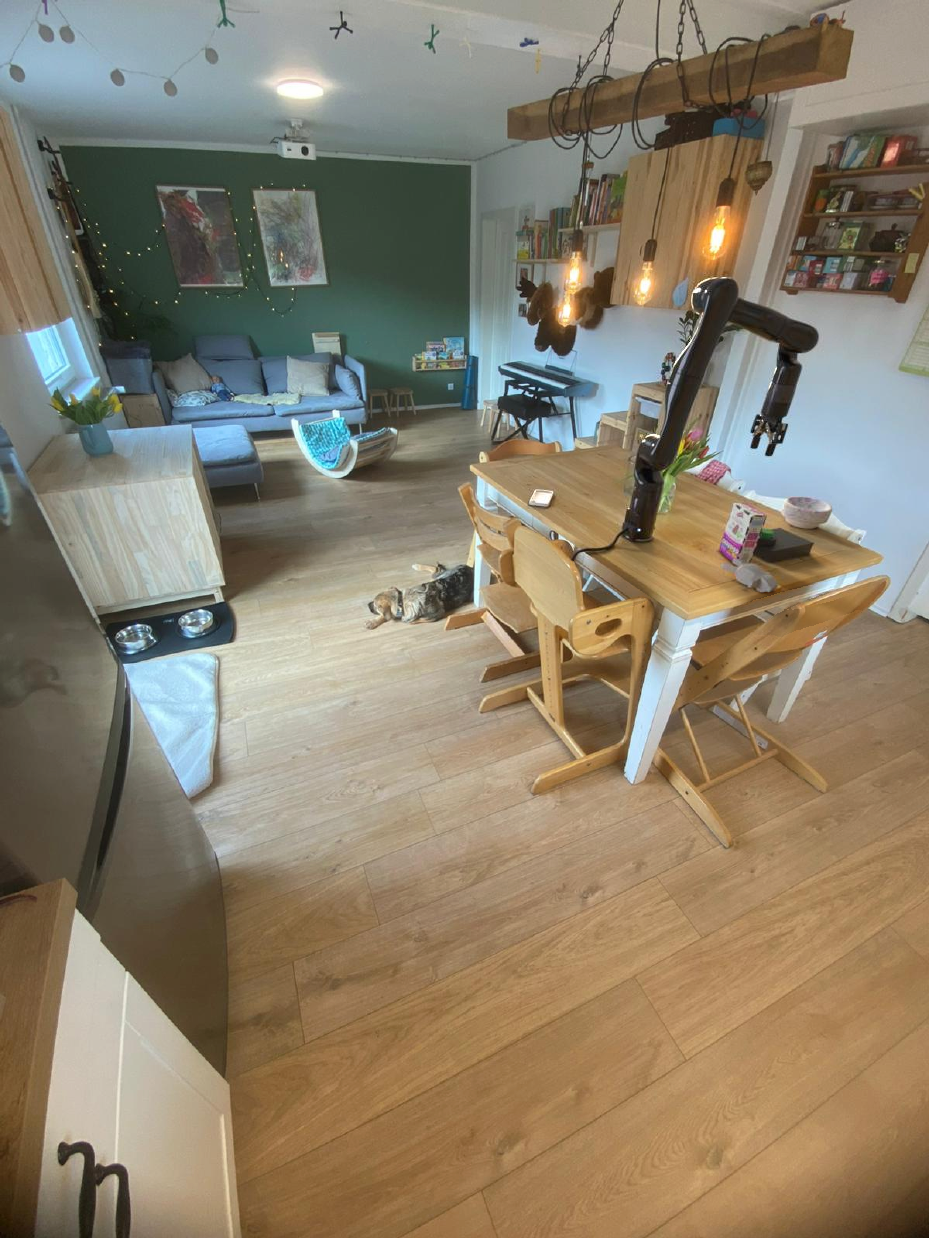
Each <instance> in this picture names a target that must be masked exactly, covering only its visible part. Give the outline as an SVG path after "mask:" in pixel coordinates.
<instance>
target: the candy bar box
mask: <svg viewBox="0 0 929 1238" xmlns="http://www.w3.org/2000/svg"><path fill="white" fill-rule="evenodd" d="M767 518H768V515H766V514H765V513H763V512H762V511H760V510H759V509H757V508H755V507H754V506H753V505H751V504H750V503H748V502H733V504H732V507H731V511H730V513H729V517H728V520H727V523H726V526H725V529H724V532H723V534H722V535H723V536H722V539H721V542H720V545H719V548H718V551H719V552H720V554H722V555H723V557H725V558H726V559H727V560H729V561H730V563H732V564H734V563H733V559H738V560H740V561H741V563H742V564H749V563H752V558H753V557H754V555H753V554H754V551H755V548H756V545H757V542H758V539H759V537H760V534H761V531H762V529H764V526H765V522H766V521H767Z"/></svg>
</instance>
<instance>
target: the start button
mask: <svg viewBox="0 0 929 1238" xmlns="http://www.w3.org/2000/svg"><path fill="white" fill-rule="evenodd" d="M773 534H774V531H772V530H771V529H769V528H763V529H762V531H761V534H760V537H762V538H766V539H772V536H773Z"/></svg>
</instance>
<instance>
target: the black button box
mask: <svg viewBox="0 0 929 1238" xmlns="http://www.w3.org/2000/svg"><path fill="white" fill-rule="evenodd" d="M770 530H772V531H774V534H773V536H772V539H766V538H762V537H759V539H758V542H757V545H756V548H755V551H754V554H753V556H755V557H757V558H760V559H761V560H763V561H765V562H767V563H773V562H778V561H784V560H787V559H793V558H797V557H802V556H807V555H810V553H811V551H812V548H813V546H814V544H815V543H814V542H813V541H810V540H809V539H806V538H804V537H802V536H800V535H797V534H795V533H793V532H790V531H789V530H787V529H784V528H781V527H777V528H776V527H775V528H772V529H770Z"/></svg>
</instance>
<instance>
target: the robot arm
mask: <svg viewBox="0 0 929 1238" xmlns="http://www.w3.org/2000/svg"><path fill="white" fill-rule="evenodd" d="M739 288H740V287H739V284H738V283H737V281H736V280H735V279H734V278H731V277H710V278H707V279H704V280H703V281H701V282H700V283H698V284H697V286H696V287H695V288H694V290H693V292H692V294H691V306H692V309H693V311H694V312H695V313H696V314H698V315H699V316H700V317H701V318H700V319H699V323H698V326H697V329H696V331H695V333H694V335H693V337H692V339H691V340H690V342H689V343H688V345H687V346H686V347H685V349H684V350H683V351H682V352H681V354H680V355H679V357H678V358H677V359H676V361H675V363H674V364H673V367H672V369H671V372H670V374H669V378H668V380H667V383H666V386H665V390H664V419H663V425H662V428H661V430H660V433H659V434H654V433H653V434H649V435H647V436H645V437H644V438H643V439H642V440H641V441H640V443H639V445H638V448H637V451H636V456H635V462H634V470H633V480H634V484H633V488H632V493H631V497H630V503H629V507H628V508H626V510H625V516H624V520H623V521H622V526H621V530H620V531H619V532H618V534H616V536H615V538H614V540H613V541H612V542H611V543H610V544H609V545H606V546H603V547H586V548H585V547H584V548H581V549H577V550H576V551H575V552H574V553H573V555H572V557H571V558H570V560H571V559H572V560H573V561H574V560H575V559H576V557H577V556H578V555H579V554H581V553H585V552H601V551H605V550H606V551H607V550H610V549H611V548H613V547H614V546H615V545H616V543H617V542H618V540H619V538H620V537H621V536H623V537H625V538H626V539H628V540H629V541H631V542H639V543H645V542H649V541H652V540H653V536H654V530H656V522H657V517H658V513H659V508H660V504H661V500H662V496H663V493H664V487H665V479H664V477H663V476H662V475H663V474H662V472H663V471H665V470H666V471H667V469H669V468H670V467H671V466H672V465H673V463H674V462H675V460H676V458H677V456H678V453H679V450H680V446H681V443H682V439H683V436H684V433H685V429H686V426H687V423H688V420H689V417H690V415H691V412H692V409H693V406H694V404H695V402H696V398H697V397H698V394H699V392H700V389H701V386H702V384H703V382H704V378H705V376H706V373H707V370H708V368H709V366H710V363H711V361H712V358H713V355H714V353H715V350H716V348H717V345H718V343H719V342H720V341H719V340H720V338H721V336H722V334H723V332H724V330H725V328H726V326H727V325H728V323H730V324H732V325H735V326H736V327H739V328H741V329H743V330H745V331H746V332H749V333H751V334H752V335H755V336H757V337H759V338H761V339H763V340H765V341H767V342H770V343H773V344H774V343H775V344H777V351H776V361H775V363H776V367H775V370H774V372H773V375H772V380H771V382H770V384H769V387H767V390H766V394H765V397H764V401H763V403H762V407H761V410H760V413H757V414H755V416H754V420H753V421H752V422H753V423H752V425H751V428H750V431H749V432H750V434H752V440H751V443H750V446H749V448H750V449H752V450H757V449H758V448H759V445H760V442H761V438H762V436H763V435H764V434H766V437H767V439H768V444H767V447H766V450H765V453H764V456H765V457H772V456H773V455H774V454H775V453H774V452H775V450H776V447H777V445H782V444H783V443H784V440H785V437H786V434H787V430H788V427H789V423H785V422H784V423H783V419H784V418H786V417H787V416H788V413H789V411H790V408H791V406H792V402H793V400H794V397H795V394H796V391H797V386H798V382H799V380H800V377H801V374H802V370H803V364H802V363H801V362H800V361H798V360H799V359H798V355H799V354H807V353H809V352H811V351H812V350H814V349H815V348H816V346H817V345H818V343H819V341H820V333H819V331H818V330H817V328H816V327H815V326H813V325H811V324H808V323H805V322H803V321H800V320H796V319H793V318H790V317H789V316H788V315H785V314H783V313H782V312H780V311H778V310H775V309H774V308H771V307H768V306H766V305H762V304H759V303H756V302H752V301H750V300H747V299H744V298H741V297H739V293H740V292H739V291H740V289H739ZM572 560H571V561H572Z"/></svg>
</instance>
